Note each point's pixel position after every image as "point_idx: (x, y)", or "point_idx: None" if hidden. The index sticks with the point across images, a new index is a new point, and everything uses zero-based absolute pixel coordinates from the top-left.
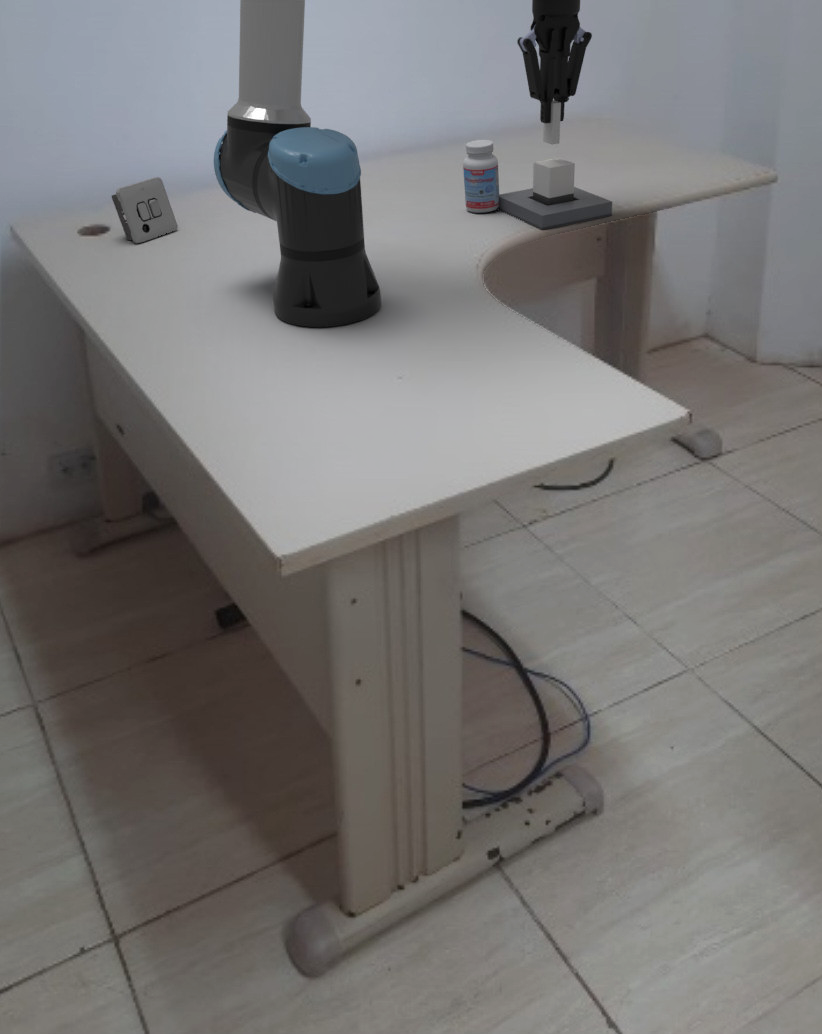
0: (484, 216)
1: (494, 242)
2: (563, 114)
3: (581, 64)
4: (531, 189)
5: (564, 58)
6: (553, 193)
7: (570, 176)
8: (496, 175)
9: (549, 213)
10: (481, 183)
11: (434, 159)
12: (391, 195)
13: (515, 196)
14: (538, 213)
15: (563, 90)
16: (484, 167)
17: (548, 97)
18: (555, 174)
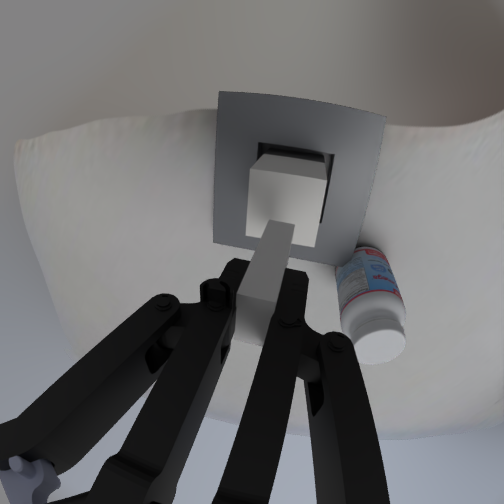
0: (387, 241)
1: (468, 136)
2: (226, 269)
3: (68, 374)
4: None
5: (145, 460)
6: (314, 162)
7: (266, 163)
8: (364, 281)
9: (367, 115)
10: (393, 280)
11: None
12: (377, 369)
13: (332, 240)
14: (382, 131)
15: (206, 327)
16: (394, 296)
17: (295, 330)
18: (309, 172)
